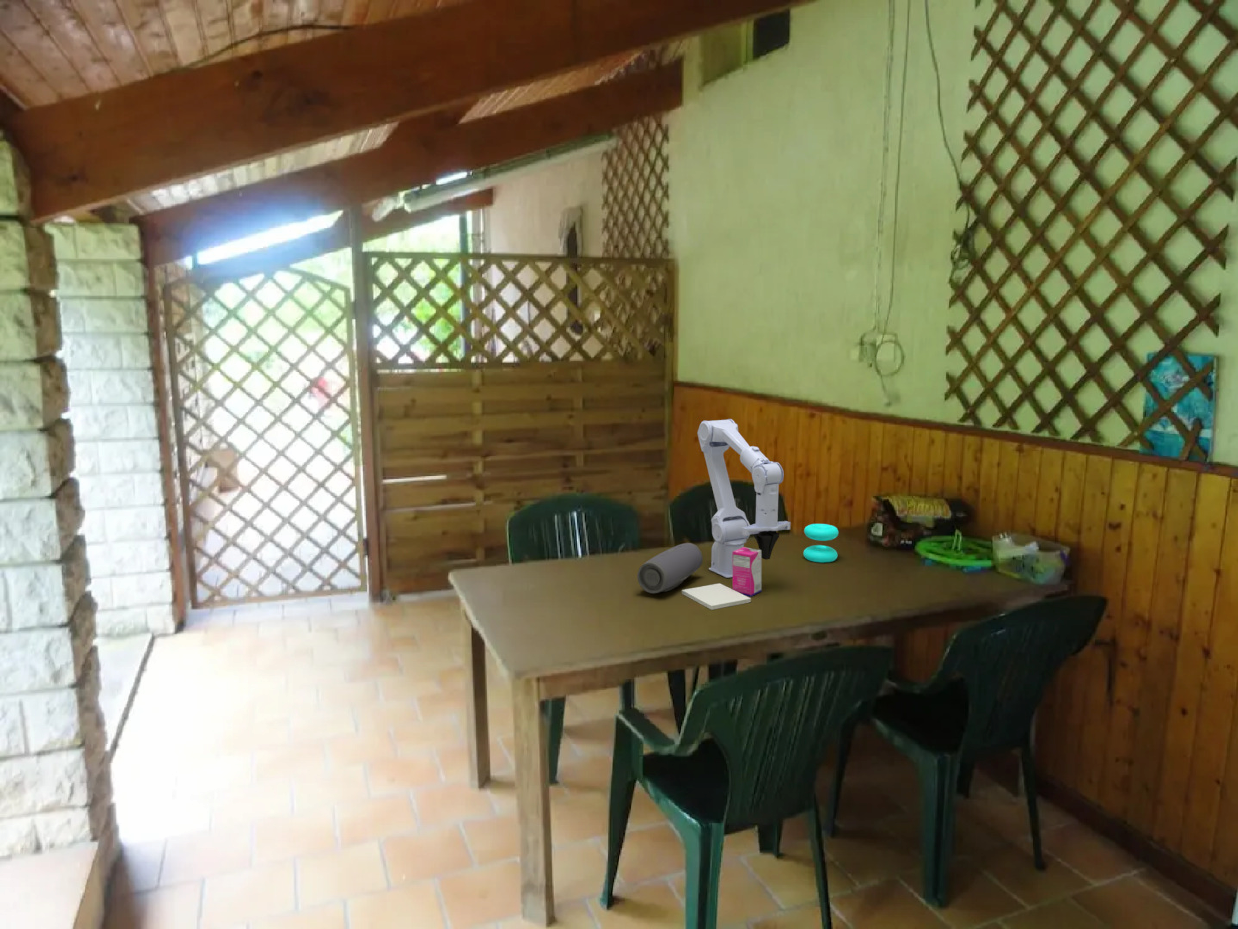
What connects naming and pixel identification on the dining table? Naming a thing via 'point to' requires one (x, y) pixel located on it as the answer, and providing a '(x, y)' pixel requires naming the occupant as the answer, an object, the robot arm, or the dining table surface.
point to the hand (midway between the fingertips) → (765, 558)
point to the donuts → (820, 551)
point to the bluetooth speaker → (669, 568)
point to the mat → (716, 596)
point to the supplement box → (747, 571)
